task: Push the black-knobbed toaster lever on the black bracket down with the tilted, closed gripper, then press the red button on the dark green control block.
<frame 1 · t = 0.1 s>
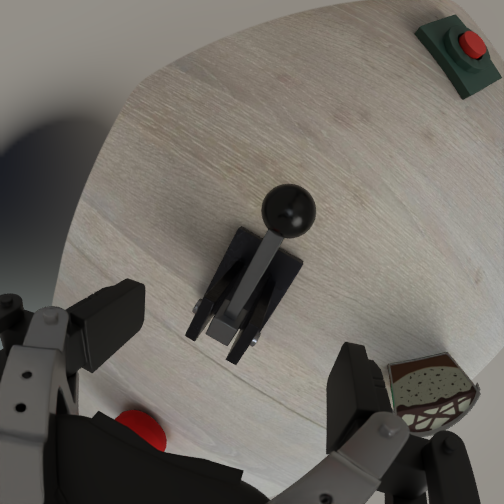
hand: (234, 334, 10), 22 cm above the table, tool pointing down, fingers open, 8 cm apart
tomato: (147, 421, 45), on the table
button: (472, 44, 16), point 5 cm above the table, slide at 0.2 cm
cake slice: (415, 374, 32), on the table
control block: (457, 57, 21), on the table
black bracket: (249, 283, 33), on the table
lever: (252, 277, 20), point 12 cm above the table, hinge at 20.0°
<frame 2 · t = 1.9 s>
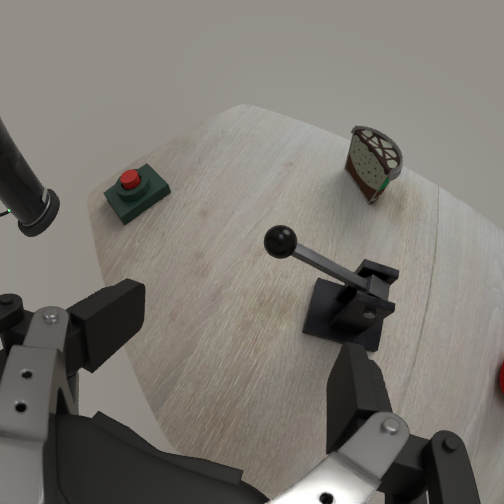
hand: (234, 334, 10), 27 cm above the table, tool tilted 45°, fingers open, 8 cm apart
button: (130, 179, 44), point 5 cm above the table, slide at 0.2 cm
cake slice: (368, 183, 50), on the table
control block: (137, 196, 48), on the table
black bracket: (345, 316, 38), on the table
lever: (330, 268, 28), point 12 cm above the table, hinge at 20.0°
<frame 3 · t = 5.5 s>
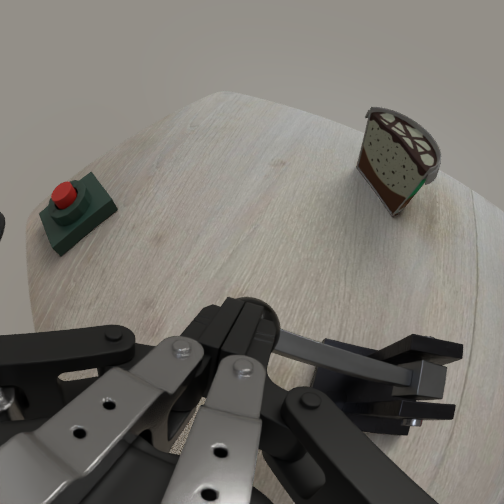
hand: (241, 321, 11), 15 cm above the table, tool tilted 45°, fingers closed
button: (64, 195, 29), point 5 cm above the table, slide at 0.2 cm
cake slice: (389, 187, 36), on the table
control block: (78, 216, 33), on the table
black bracket: (365, 391, 23), on the table
lever: (348, 363, 14), point 12 cm above the table, hinge at 15.3°, touching gripper
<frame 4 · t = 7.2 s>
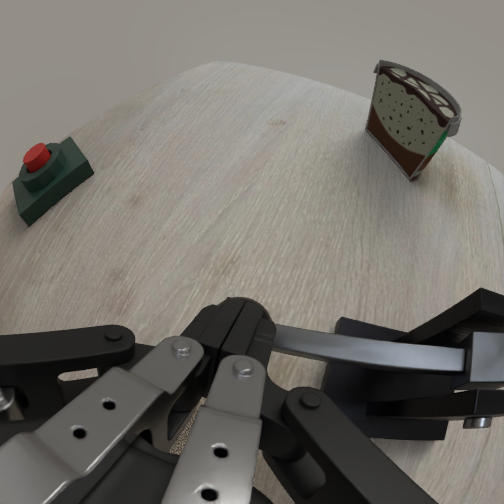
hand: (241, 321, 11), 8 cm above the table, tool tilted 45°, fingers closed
button: (36, 157, 23), point 5 cm above the table, slide at 0.2 cm
cake slice: (402, 151, 30), on the table
control block: (52, 183, 27), on the table
black bracket: (392, 386, 17), on the table
lever: (364, 353, 11), point 8 cm above the table, hinge at -18.0°, touching gripper
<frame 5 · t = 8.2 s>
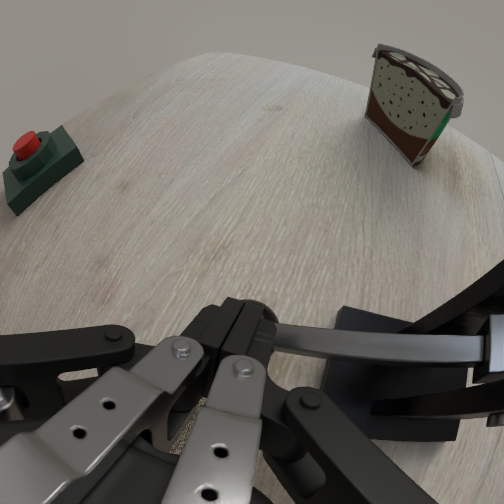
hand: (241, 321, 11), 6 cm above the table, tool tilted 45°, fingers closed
button: (26, 145, 21), point 5 cm above the table, slide at 0.2 cm
cake slice: (404, 138, 28), on the table
control block: (42, 172, 25), on the table
black bracket: (399, 382, 15), on the table
lever: (372, 348, 10), point 7 cm above the table, hinge at -28.6°, touching gripper
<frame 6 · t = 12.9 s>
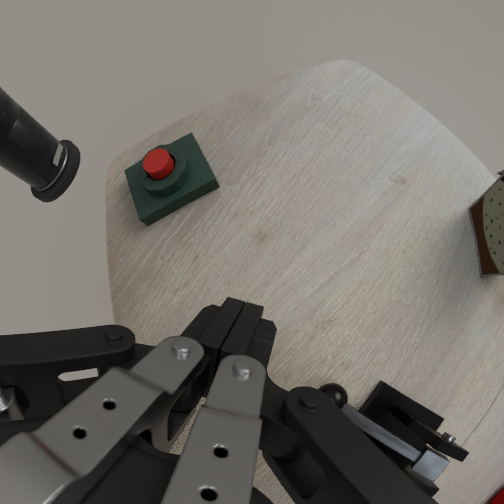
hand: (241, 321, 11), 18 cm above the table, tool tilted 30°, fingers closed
tomato: (499, 496, 16), on the table
button: (158, 163, 30), point 5 cm above the table, slide at 0.2 cm
cake slice: (488, 241, 28), on the table
control block: (172, 181, 34), on the table
black bracket: (392, 428, 24), on the table
lever: (379, 432, 19), point 7 cm above the table, hinge at -28.6°
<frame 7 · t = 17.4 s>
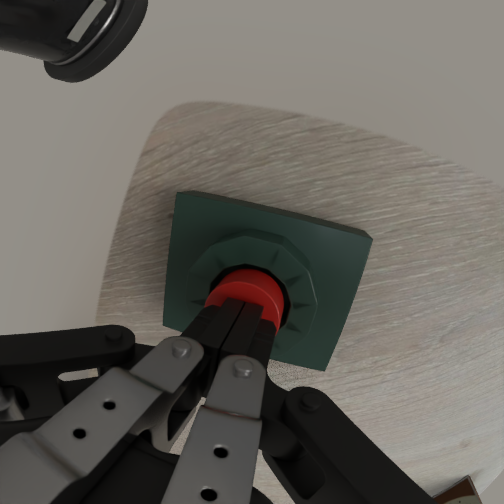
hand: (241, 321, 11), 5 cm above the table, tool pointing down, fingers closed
button: (245, 309, 12), point 5 cm above the table, slide at 0.1 cm, touching gripper
cake slice: (447, 493, 20), on the table
control block: (262, 275, 16), on the table
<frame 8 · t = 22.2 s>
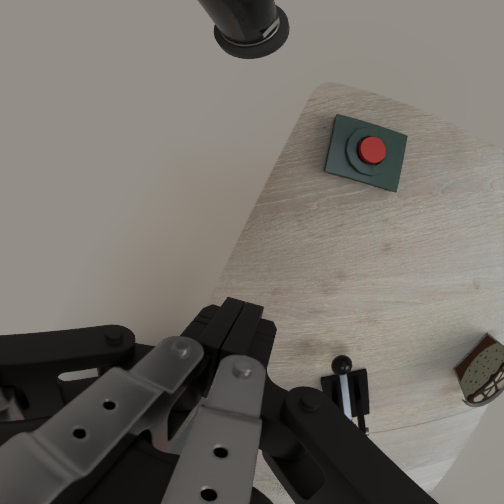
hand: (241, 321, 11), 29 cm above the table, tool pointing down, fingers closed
button: (371, 150, 30), point 5 cm above the table, slide at 0.1 cm
cake slice: (476, 357, 37), on the table
control block: (364, 153, 34), on the table
black bracket: (346, 394, 44), on the table
lever: (346, 401, 36), point 7 cm above the table, hinge at -28.6°
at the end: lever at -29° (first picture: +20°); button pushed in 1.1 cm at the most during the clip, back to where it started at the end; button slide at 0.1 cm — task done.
